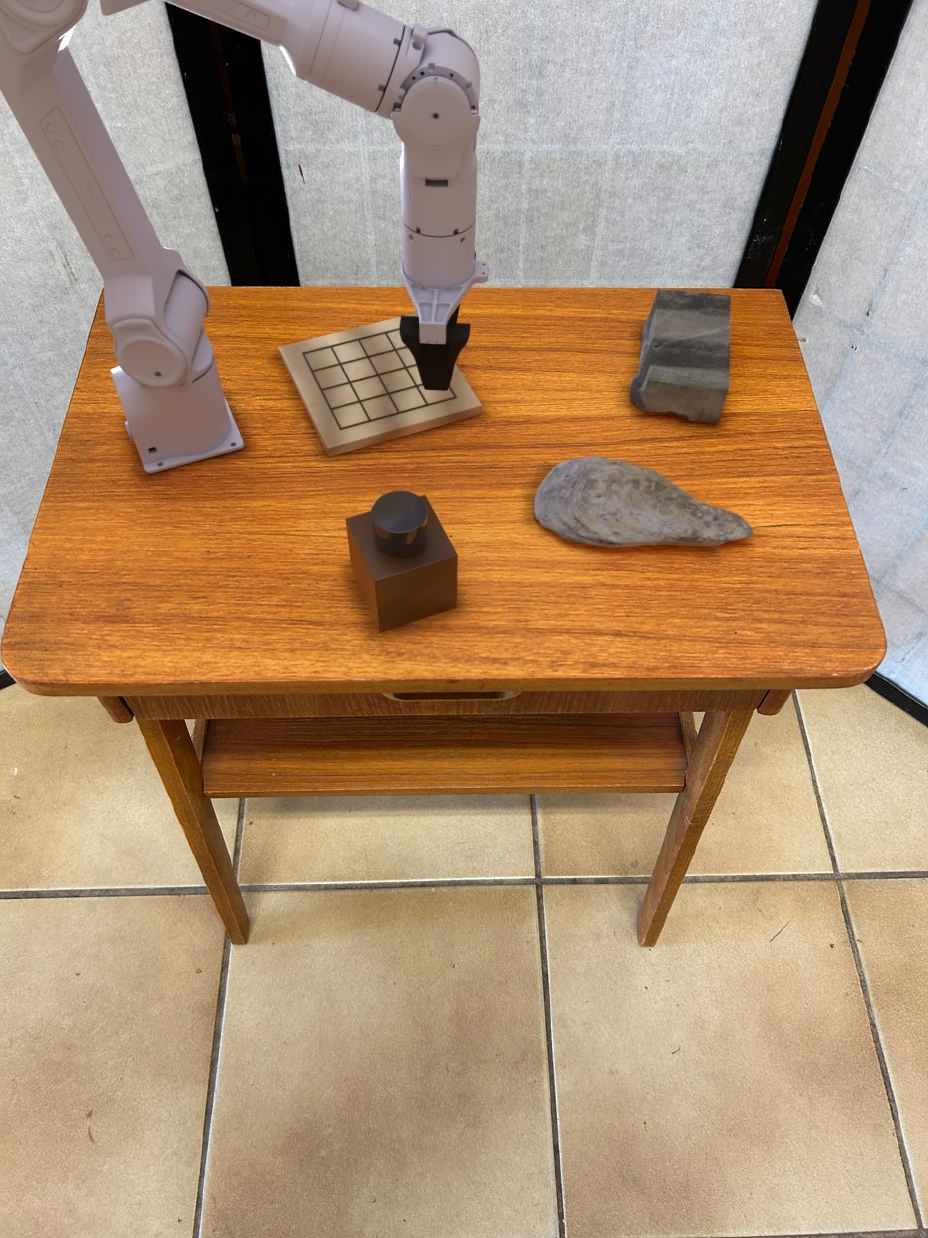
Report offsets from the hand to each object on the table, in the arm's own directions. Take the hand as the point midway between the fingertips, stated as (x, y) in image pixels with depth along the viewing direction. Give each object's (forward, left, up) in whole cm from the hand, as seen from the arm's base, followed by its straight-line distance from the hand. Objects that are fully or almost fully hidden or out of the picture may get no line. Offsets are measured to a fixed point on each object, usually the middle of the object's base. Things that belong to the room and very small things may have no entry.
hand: (439, 358), depth 84 cm
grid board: (-3, +10, -10) cm, 15 cm away
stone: (+13, -16, -10) cm, 23 cm away
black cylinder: (-10, -15, -3) cm, 18 cm away
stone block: (+26, 0, -10) cm, 28 cm away
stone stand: (-10, -15, -10) cm, 21 cm away
